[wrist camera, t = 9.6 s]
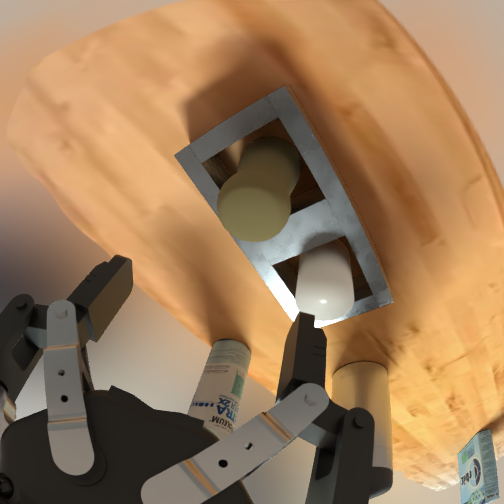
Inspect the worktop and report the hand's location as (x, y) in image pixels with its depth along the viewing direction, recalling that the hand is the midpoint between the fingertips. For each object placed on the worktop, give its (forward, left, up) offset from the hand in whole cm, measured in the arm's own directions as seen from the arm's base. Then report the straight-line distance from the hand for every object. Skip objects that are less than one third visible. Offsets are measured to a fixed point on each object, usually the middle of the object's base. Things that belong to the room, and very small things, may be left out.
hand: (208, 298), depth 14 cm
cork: (0, 0, -19) cm, 19 cm away
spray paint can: (-22, +20, -19) cm, 35 cm away
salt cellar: (-12, 0, -19) cm, 22 cm away
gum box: (-95, -17, -19) cm, 98 cm away
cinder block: (-6, 0, -19) cm, 20 cm away
